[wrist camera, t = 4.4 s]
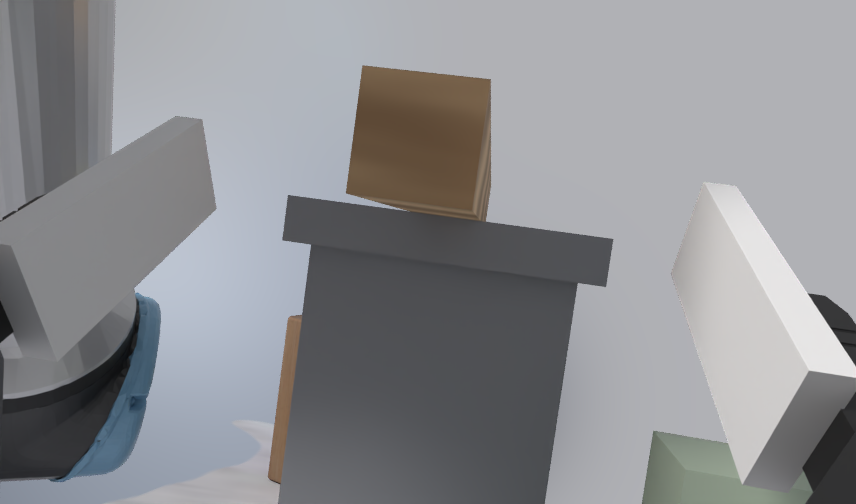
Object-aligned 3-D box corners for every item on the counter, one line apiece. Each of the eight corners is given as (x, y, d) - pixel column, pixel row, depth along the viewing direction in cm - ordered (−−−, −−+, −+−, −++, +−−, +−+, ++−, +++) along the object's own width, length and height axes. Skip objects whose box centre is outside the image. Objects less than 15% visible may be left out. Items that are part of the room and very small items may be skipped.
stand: (509, 919, 25) (613, 239, 23) (207, 839, 26) (288, 195, 25) (501, 614, 45) (557, 236, 43) (329, 578, 46) (378, 212, 45)
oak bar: (472, 209, 13) (490, 79, 13) (346, 193, 13) (362, 65, 13) (485, 226, 41) (490, 185, 41) (443, 221, 41) (449, 179, 41)
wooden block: (358, 492, 61) (380, 328, 60) (333, 508, 57) (356, 332, 56) (293, 466, 65) (313, 312, 65) (266, 479, 61) (286, 315, 61)
